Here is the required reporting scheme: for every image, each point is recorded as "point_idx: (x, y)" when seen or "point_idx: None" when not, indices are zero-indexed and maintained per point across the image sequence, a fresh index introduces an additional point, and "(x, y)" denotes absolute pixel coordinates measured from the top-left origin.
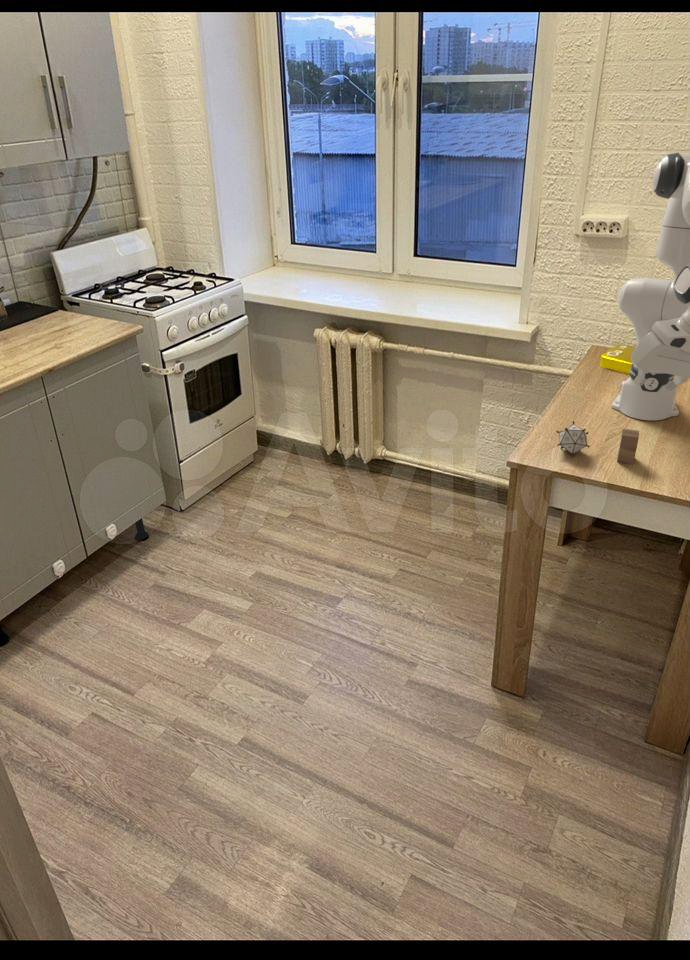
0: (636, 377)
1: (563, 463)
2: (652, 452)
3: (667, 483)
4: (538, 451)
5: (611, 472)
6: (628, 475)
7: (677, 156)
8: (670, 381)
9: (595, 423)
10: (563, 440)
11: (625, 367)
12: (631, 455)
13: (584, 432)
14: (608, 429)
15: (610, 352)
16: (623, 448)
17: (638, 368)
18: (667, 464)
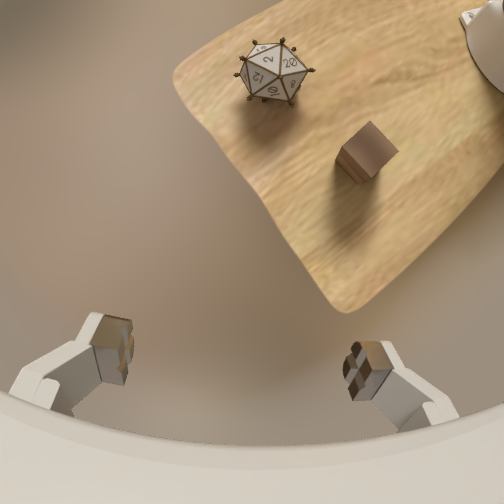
0: (83, 329)
1: (230, 115)
2: (427, 169)
3: (358, 277)
4: (220, 61)
5: (292, 187)
6: (315, 214)
7: None
8: (366, 378)
9: (400, 30)
10: (242, 73)
11: None
12: (356, 177)
13: (287, 77)
14: (410, 57)
15: None
16: (344, 159)
17: (31, 363)
18: (417, 221)
